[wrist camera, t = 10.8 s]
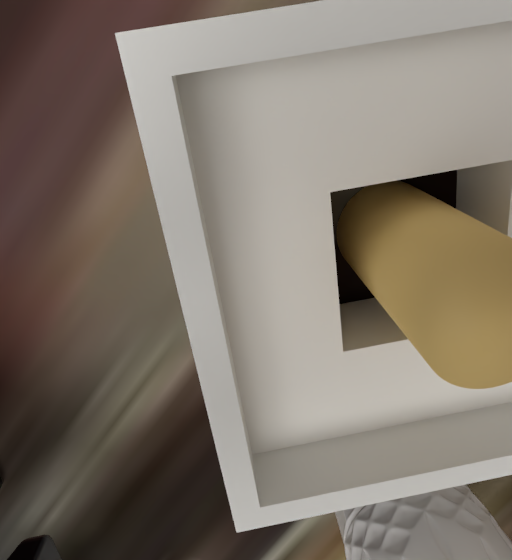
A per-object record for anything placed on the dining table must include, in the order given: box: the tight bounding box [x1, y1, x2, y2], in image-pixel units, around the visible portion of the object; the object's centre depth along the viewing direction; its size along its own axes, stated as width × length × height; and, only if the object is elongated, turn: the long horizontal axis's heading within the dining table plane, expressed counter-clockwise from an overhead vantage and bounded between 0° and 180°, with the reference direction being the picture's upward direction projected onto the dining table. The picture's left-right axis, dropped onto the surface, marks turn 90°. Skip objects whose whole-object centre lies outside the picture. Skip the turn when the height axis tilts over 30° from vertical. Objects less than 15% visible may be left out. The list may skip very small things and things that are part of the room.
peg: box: [337, 181, 512, 389], centre depth 16 cm, size 4×4×8 cm
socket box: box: [115, 0, 512, 532], centre depth 17 cm, size 16×16×6 cm
